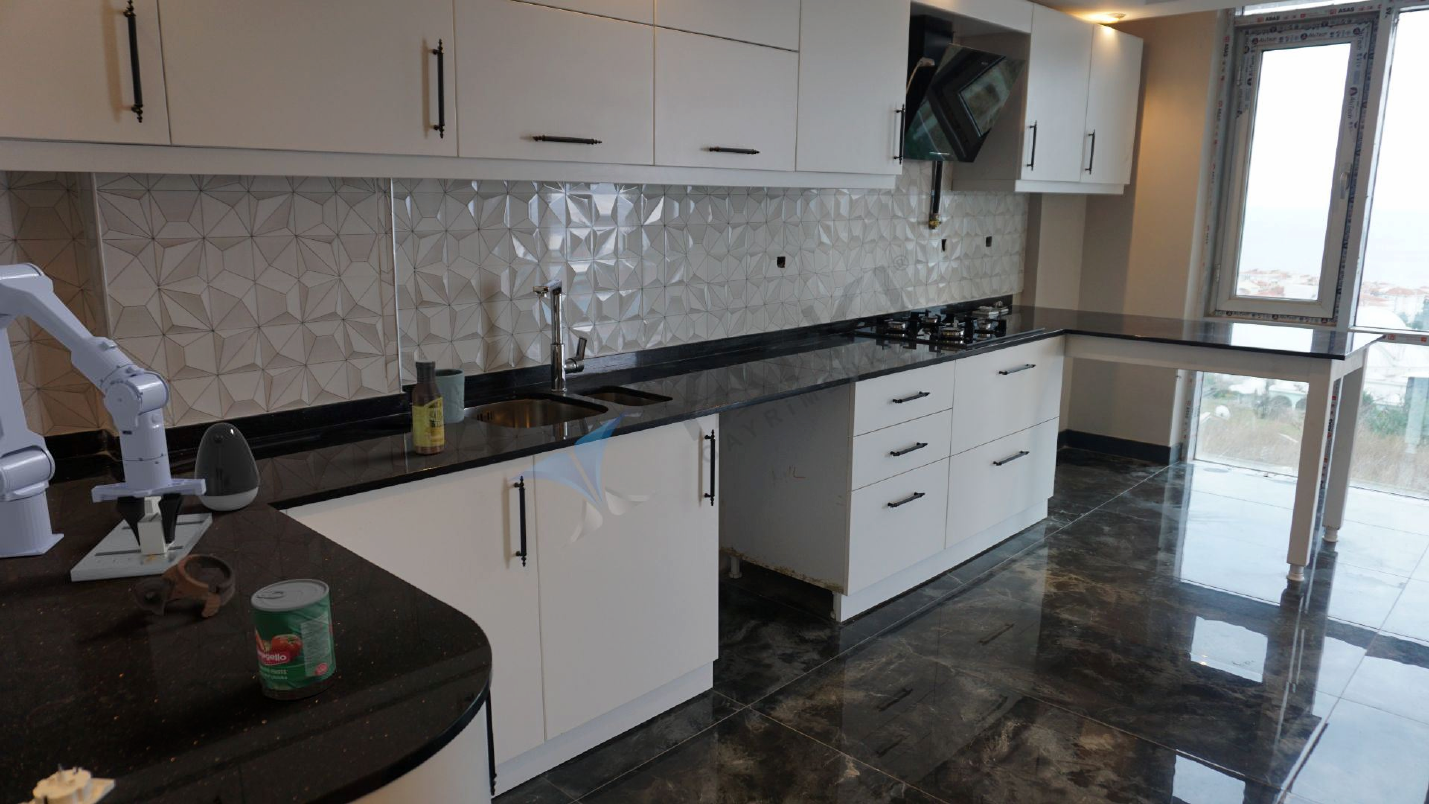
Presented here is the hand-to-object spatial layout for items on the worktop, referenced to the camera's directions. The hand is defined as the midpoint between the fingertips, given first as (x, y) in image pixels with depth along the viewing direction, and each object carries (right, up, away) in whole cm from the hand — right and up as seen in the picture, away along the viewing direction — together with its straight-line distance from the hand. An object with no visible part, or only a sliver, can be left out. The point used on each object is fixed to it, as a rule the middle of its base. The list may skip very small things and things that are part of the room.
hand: (157, 542), depth 139 cm
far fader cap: (-7, +1, +10) cm, 12 cm away
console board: (-4, -2, +5) cm, 6 cm away
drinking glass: (+18, +17, +88) cm, 91 cm away
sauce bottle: (+23, +10, +60) cm, 65 cm away
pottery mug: (+14, -7, -16) cm, 22 cm away
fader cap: (0, -1, 0) cm, 1 cm away
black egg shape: (-2, +2, +24) cm, 25 cm away
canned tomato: (+37, -11, -34) cm, 51 cm away
